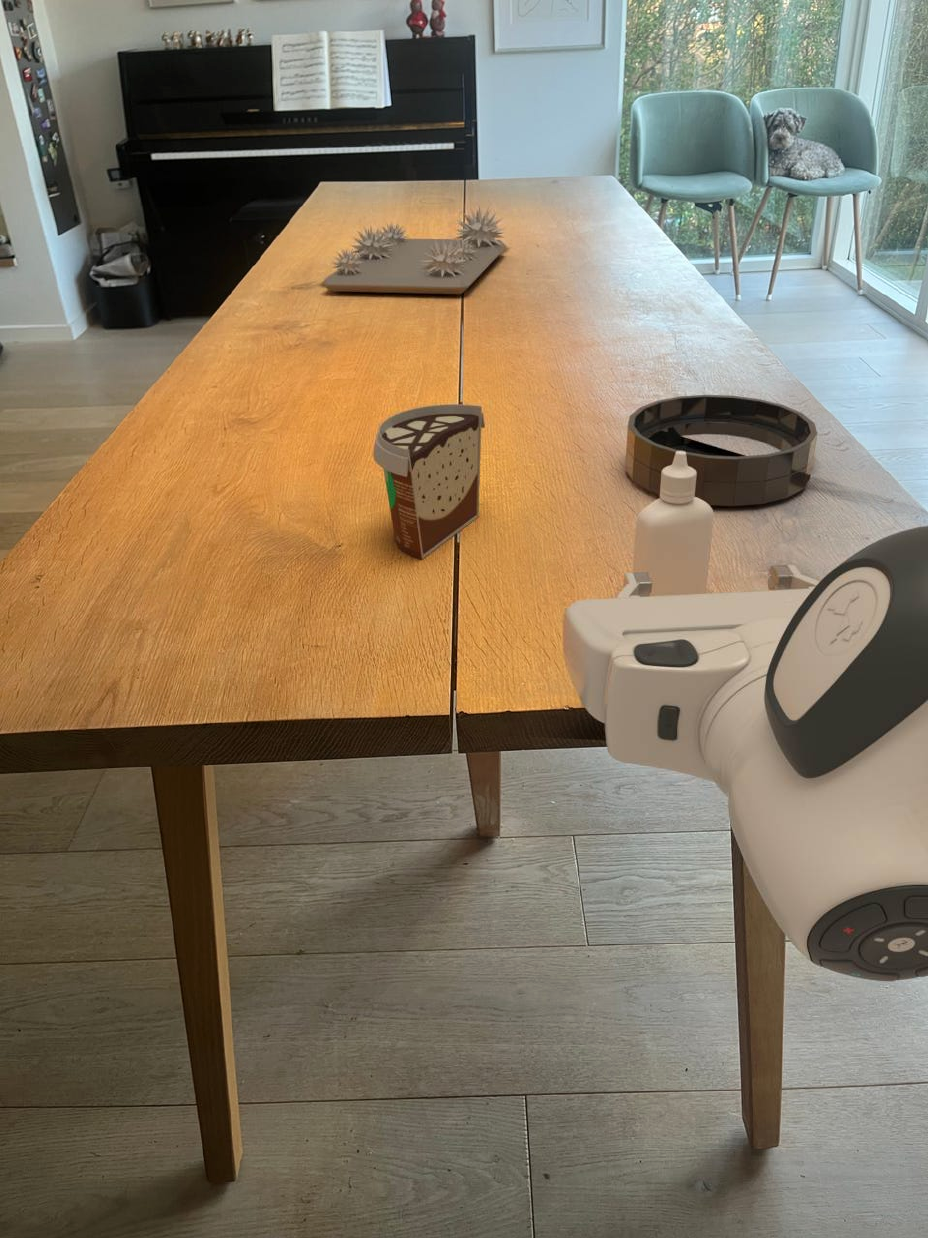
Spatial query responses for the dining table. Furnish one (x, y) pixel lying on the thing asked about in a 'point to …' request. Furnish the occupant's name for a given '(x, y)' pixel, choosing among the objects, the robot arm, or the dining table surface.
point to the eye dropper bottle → (675, 534)
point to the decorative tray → (418, 260)
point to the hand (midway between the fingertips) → (707, 578)
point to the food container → (431, 473)
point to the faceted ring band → (720, 469)
